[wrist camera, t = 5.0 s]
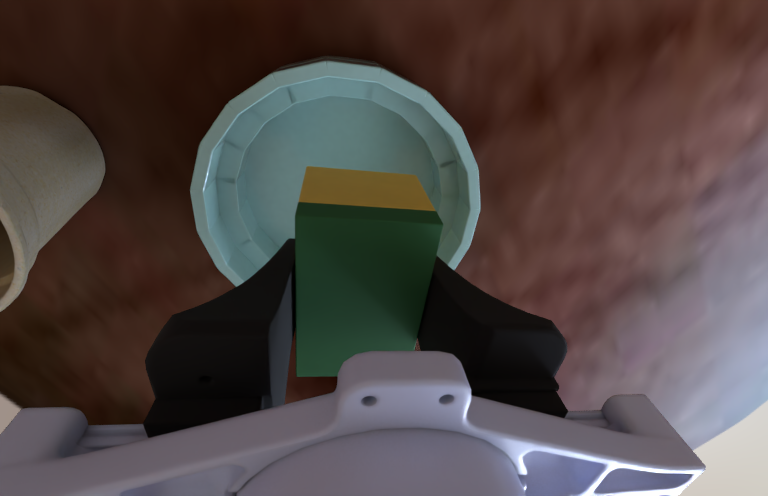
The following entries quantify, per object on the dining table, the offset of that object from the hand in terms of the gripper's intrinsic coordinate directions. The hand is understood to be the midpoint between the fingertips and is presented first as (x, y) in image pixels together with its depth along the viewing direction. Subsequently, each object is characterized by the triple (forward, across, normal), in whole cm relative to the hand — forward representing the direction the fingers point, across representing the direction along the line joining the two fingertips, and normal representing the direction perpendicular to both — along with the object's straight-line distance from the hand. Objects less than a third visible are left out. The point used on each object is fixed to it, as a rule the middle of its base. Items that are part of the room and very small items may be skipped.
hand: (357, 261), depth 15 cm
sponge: (+1, 0, 0) cm, 1 cm away
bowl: (+8, +1, 0) cm, 8 cm away
